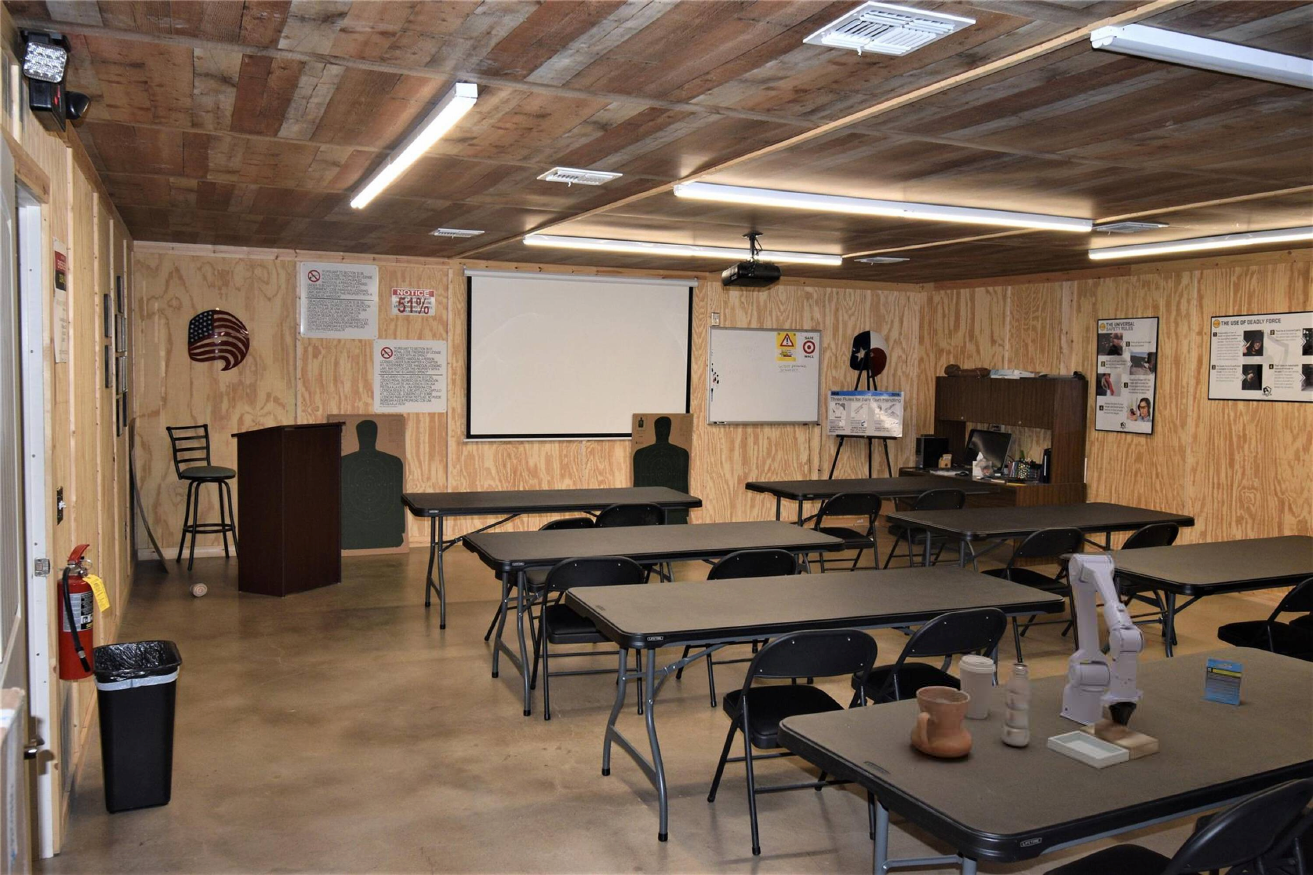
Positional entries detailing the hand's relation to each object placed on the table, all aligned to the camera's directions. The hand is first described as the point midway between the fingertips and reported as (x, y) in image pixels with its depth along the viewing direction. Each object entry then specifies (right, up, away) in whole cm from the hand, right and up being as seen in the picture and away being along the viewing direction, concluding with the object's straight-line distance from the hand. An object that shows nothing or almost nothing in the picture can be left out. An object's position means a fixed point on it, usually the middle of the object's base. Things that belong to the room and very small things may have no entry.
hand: (1119, 730), depth 246 cm
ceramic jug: (-47, -3, -8) cm, 48 cm away
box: (-11, -4, -6) cm, 13 cm away
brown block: (-3, -1, -2) cm, 4 cm away
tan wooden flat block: (0, -4, 0) cm, 4 cm away
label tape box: (+47, -3, +38) cm, 60 cm away
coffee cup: (-30, -2, +18) cm, 35 cm away
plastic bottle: (-27, -3, -1) cm, 27 cm away
